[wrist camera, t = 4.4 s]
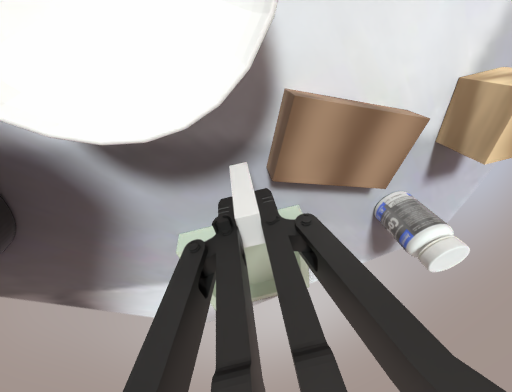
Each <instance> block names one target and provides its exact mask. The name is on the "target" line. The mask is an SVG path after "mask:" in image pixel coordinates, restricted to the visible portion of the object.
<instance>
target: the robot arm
mask: <svg viewBox="0 0 512 392" xmlns="http://www.w3.org/2000/svg"><path fill="white" fill-rule="evenodd" d="M229 167H230V177H231V187H232V197H228V198H224V199H221V200H220V202H219V204H218V217H217V218H215V219H214V221H213V223H212V226H213V228H214V230H215V233H216V234H215V235H214V236H213V237H212V238H210V239H209V240H207V241H205V242H204V241H203V240H200V239H196V240H193V241H191V242H189V243H188V244H187V245H186V246H185V248H184V250H183V252H182V254H181V257H180V259H179V261H178V264H177V266H176V268H175V271H174V273H173V275H172V278H171V280H170V282H169V285H168V287H167V289H166V292H165V294H164V296H163V299H162V301H161V303H160V306H159V308H158V311H157V313H156V315H155V318H154V320H153V322H152V325H151V327H150V330H149V332H148V334H147V336H146V339H145V341H144V343H143V346H142V348H141V350H140V353H139V355H138V357H137V360H136V362H135V364H134V367H133V369H132V371H131V374H130V376H129V379H128V381H127V383H126V386H125V388H124V390H123V392H188V390H189V386H190V382H191V378H192V374H193V370H194V366H195V362H196V357H197V354H198V350H199V345H200V342H201V338H202V334H203V329H204V326H205V322H206V318H207V313H208V309H209V305H210V301H211V297H212V293H213V289H214V285H215V281H216V371H215V374H214V376H213V378H212V384H211V392H265V388H264V383H263V378H262V372H261V365H260V357H259V350H258V342H257V335H256V327H255V320H254V313H253V306H252V298H251V291H250V284H249V276H248V269H247V262H246V255H245V252H244V248H246V247H250V246H255V245H259V244H263V243H266V247H267V252H268V256H269V260H270V264H271V268H272V273H273V277H274V281H275V285H276V290H277V294H278V298H279V302H280V307H281V311H282V315H283V319H284V323H285V327H286V332H287V336H288V340H289V345H290V349H291V353H292V357H293V362H294V365H295V370H296V374H297V379H298V383H299V387H300V391H301V392H347V390H346V387H345V384H344V382H343V379H342V376H341V373H340V371H339V368H338V365H337V363H336V360H335V357H334V355H333V353H332V351H331V348H330V347H329V346H328V344H327V342H326V340H325V337H324V334H323V331H322V328H321V326H320V323H319V320H318V317H317V314H316V312H315V309H314V306H313V303H312V301H311V298H310V295H309V292H308V290H307V287H306V284H305V281H304V278H303V276H302V273H301V270H300V267H299V265H298V262H297V259H296V256H295V253H294V251H298V252H299V254H300V255H301V257H302V258H303V260H304V261H305V262H306V264H307V265H308V266H309V268H310V269H311V271H312V272H313V273H314V275H315V276H316V277H317V279H318V280H319V281H320V283H321V284H322V286H323V287H324V288H325V290H326V291H327V293H328V294H329V295H330V297H331V298H332V299H333V301H334V302H335V303H336V305H337V306H338V308H339V309H340V310H341V312H342V313H343V315H344V316H345V317H346V319H347V320H348V321H349V323H350V324H351V326H352V327H353V328H354V330H355V331H356V332H357V334H358V335H359V337H360V338H361V339H362V341H363V342H364V343H365V345H366V346H367V348H368V349H369V350H370V352H371V353H372V354H373V356H374V357H375V359H376V360H377V361H378V363H379V364H380V365H381V367H382V368H383V370H384V371H385V372H386V374H387V375H388V376H389V378H390V379H391V380H392V381H393V383H394V384H395V385H396V387H397V388H398V389H399V390H400V392H506V391H505V390H503V389H502V388H500V387H499V386H497V385H496V384H494V383H493V382H491V381H490V380H488V379H487V378H485V377H484V376H482V375H481V374H480V373H478V372H477V371H475V370H473V369H472V368H471V367H469V366H468V365H466V364H465V363H463V362H462V361H460V360H459V359H457V358H456V357H454V356H453V355H452V354H451V353H450V352H449V351H448V350H447V349H446V348H445V347H444V346H443V345H442V344H441V343H440V342H439V341H438V340H437V339H436V338H435V337H434V336H433V335H432V334H431V333H430V332H429V331H428V330H427V329H426V328H425V327H424V326H423V324H422V323H420V321H418V320H417V318H416V317H415V316H414V315H413V314H412V313H411V312H410V311H409V310H408V309H407V308H406V307H405V306H403V305H402V303H401V302H400V301H399V300H398V299H397V298H396V297H395V296H394V295H393V294H392V293H391V292H390V291H389V290H388V289H387V288H386V287H385V286H384V285H383V284H382V283H381V282H380V281H379V280H378V279H377V278H376V277H375V276H374V275H373V274H372V273H371V272H370V271H369V270H368V269H367V268H366V267H365V266H364V265H363V264H362V263H361V262H360V261H359V260H358V259H357V258H356V257H355V256H354V255H353V254H352V253H351V252H350V251H349V250H348V249H347V248H346V247H345V246H344V245H343V244H342V243H341V242H340V241H339V240H338V239H337V238H336V237H335V236H334V235H333V234H332V233H331V232H330V231H329V230H328V229H327V228H326V227H325V226H324V225H323V224H322V223H321V222H320V221H319V220H318V219H317V218H316V217H315V216H314V215H312V214H301V215H299V216H297V218H296V219H285V218H283V217H281V216H280V215H279V213H278V210H277V207H276V204H275V201H274V199H273V196H272V193H271V191H270V190H269V189H267V188H265V189H261V190H256V191H254V189H253V185H252V181H251V177H250V173H249V169H248V165H247V162H244V163H240V164H235V165H231V166H229ZM14 235H15V221H14V218H13V215H12V213H11V211H10V209H9V208H8V206H7V205H6V203H5V202H4V200H3V199H2V198H1V197H0V253H1V252H2V251H3V250H4V249H5V248H6V247H7V246H8V245H9V244H10V243H11V242H12V240H13V238H14ZM243 246H244V247H243Z"/></svg>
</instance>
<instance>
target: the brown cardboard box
mask: <svg viewBox="0 0 512 392" xmlns="http://www.w3.org/2000/svg"><path fill="white" fill-rule="evenodd" d="M429 120H430V118H427V117H424V116H422V115H419V114H416V113H413V112H411V111H408V110H403V109H397V108H392V107H386V106H381V105H375V104H369V103H364V102H358V101H352V100H347V99H341V98H336V97H330V96H324V95H319V94H313V93H307V92H302V91H296V90H291V89H284V94H283V98H282V102H281V107H280V111H279V115H278V120H277V124H276V128H275V133H274V137H273V141H272V146H271V150H270V154H269V159H268V163H267V169H268V172H269V174H270V176H271V179H272V181H276V182H291V183H306V184H321V185H336V186H350V187H365V188H380V189H386V187H387V186H388V184H389V183H390V181H391V180H392V178H393V176H394V175H395V173H396V172H397V170H398V169H399V167H400V165H401V164H402V162H403V161H404V159H405V158H406V156H407V154H408V153H409V151H410V150H411V148H412V147H413V145H414V144H415V142H416V140H417V139H418V137H419V136H420V134H421V133H422V131H423V129H424V128H425V126H426V125H427V123H428V122H429Z"/></svg>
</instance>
